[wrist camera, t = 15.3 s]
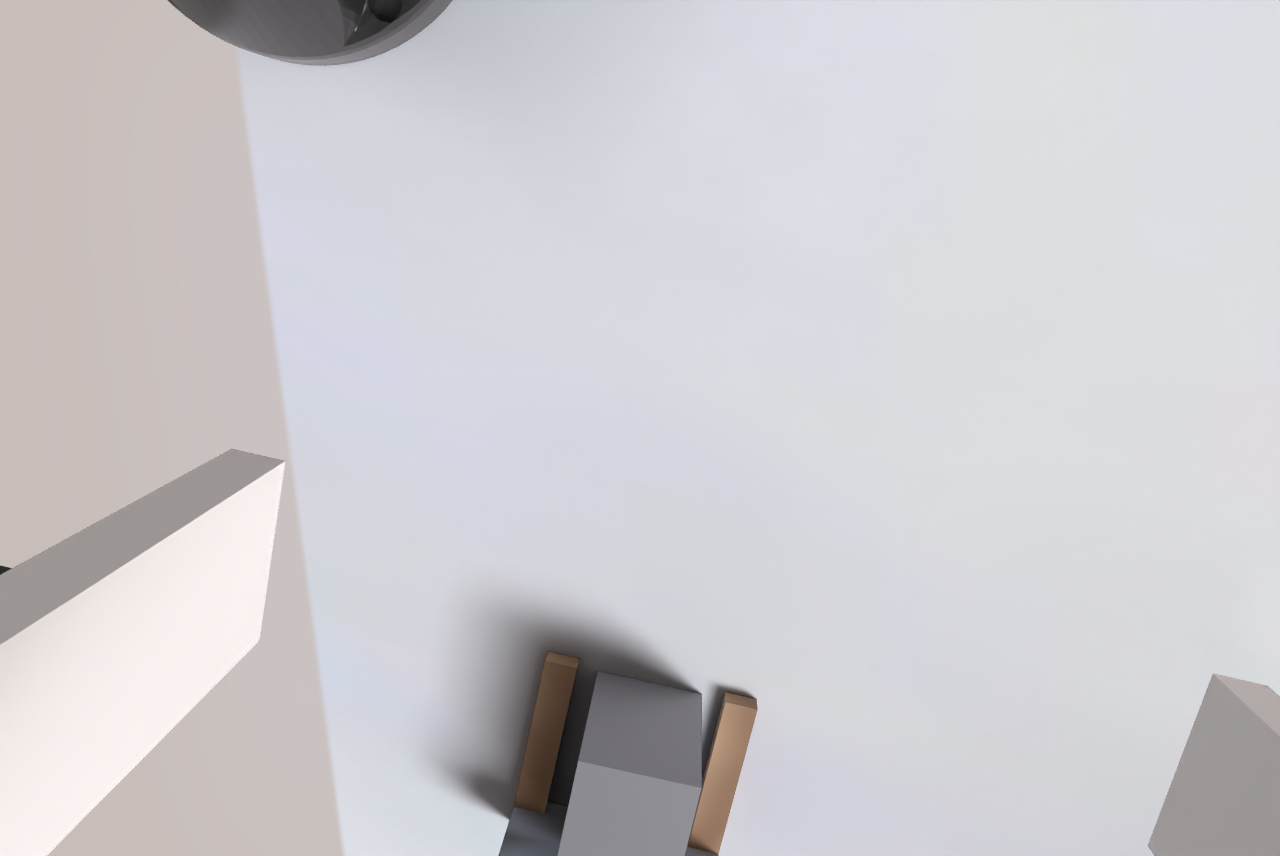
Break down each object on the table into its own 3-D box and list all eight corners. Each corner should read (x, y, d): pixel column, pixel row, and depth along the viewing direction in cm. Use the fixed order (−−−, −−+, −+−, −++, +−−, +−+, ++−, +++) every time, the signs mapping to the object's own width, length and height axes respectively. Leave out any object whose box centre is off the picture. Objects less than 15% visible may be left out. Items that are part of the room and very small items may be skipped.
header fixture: (511, 821, 51) (471, 951, 42) (548, 651, 49) (514, 751, 40) (710, 867, 51) (712, 1008, 42) (756, 699, 49) (767, 809, 40)
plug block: (569, 800, 51) (545, 910, 43) (598, 670, 49) (578, 761, 41) (670, 822, 51) (664, 936, 43) (701, 693, 49) (701, 788, 41)
